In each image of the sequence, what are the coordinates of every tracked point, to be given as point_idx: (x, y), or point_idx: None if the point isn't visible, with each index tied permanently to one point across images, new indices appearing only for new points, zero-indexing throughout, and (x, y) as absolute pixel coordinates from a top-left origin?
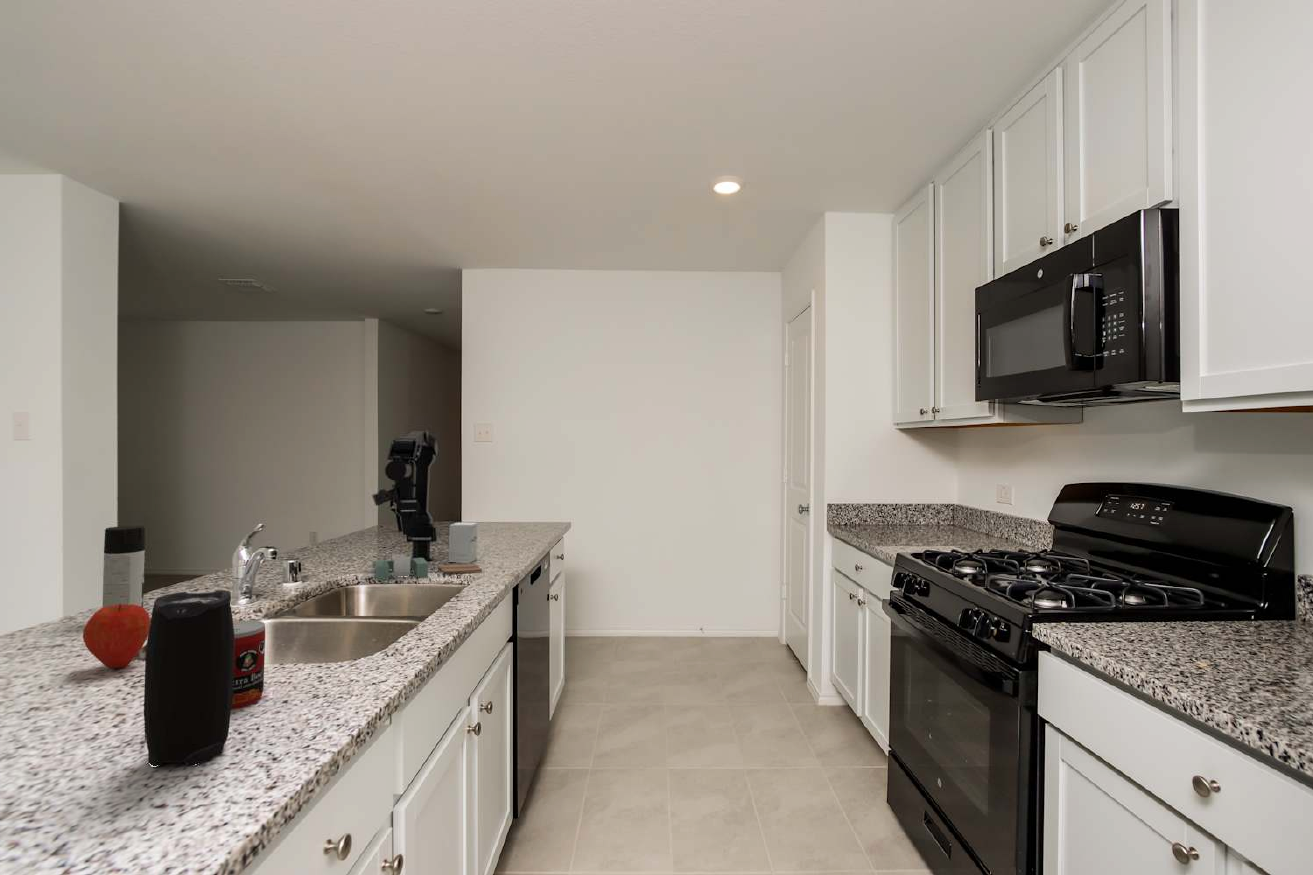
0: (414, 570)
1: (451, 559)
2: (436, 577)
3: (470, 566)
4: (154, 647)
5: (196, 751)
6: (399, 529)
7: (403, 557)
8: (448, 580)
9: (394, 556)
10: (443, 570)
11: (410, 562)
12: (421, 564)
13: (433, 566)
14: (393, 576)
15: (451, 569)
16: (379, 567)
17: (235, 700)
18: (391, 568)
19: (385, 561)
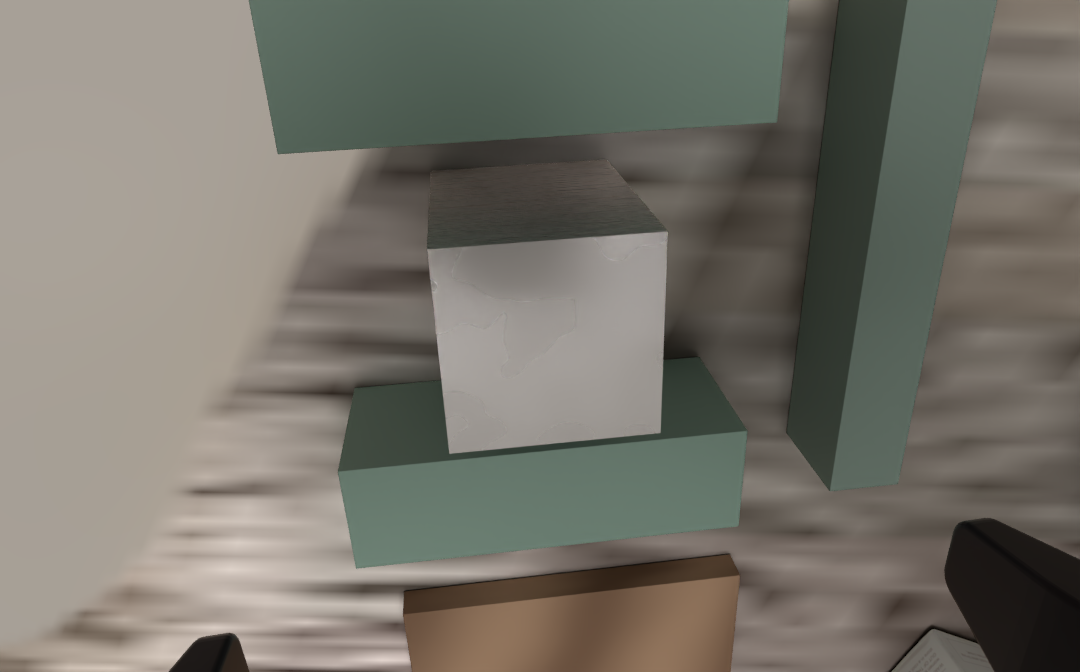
0: None
1: (930, 669)
2: (328, 536)
3: None
4: None
5: None
6: (988, 566)
7: (442, 366)
8: (164, 613)
9: (492, 257)
10: (477, 608)
11: (831, 380)
12: (344, 505)
13: (854, 525)
14: (432, 174)
15: (500, 660)
16: (256, 11)
17: None
18: (833, 170)
19: (656, 115)
